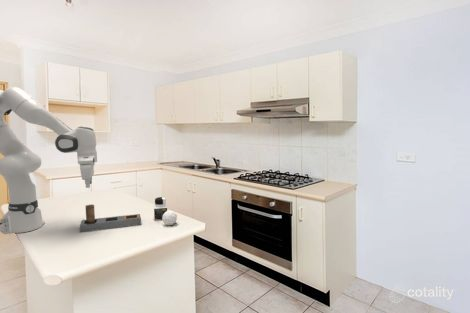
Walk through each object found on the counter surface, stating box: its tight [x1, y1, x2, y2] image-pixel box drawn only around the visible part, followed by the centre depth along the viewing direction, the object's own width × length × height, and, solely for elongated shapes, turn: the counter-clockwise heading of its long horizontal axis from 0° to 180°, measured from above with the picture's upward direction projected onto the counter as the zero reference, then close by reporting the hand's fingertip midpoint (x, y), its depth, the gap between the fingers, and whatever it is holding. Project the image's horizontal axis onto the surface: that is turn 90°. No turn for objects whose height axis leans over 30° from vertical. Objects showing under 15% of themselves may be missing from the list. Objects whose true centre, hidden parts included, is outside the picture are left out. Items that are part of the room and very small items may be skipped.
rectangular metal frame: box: [79, 213, 142, 233], centre depth 152 cm, size 29×9×4 cm, turn 112°
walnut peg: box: [85, 204, 96, 224], centre depth 148 cm, size 4×4×12 cm
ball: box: [161, 210, 178, 226], centre depth 153 cm, size 8×8×8 cm
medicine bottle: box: [153, 196, 168, 221], centre depth 164 cm, size 7×7×12 cm
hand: (88, 185), depth 146 cm, fingers open, 8 cm apart
